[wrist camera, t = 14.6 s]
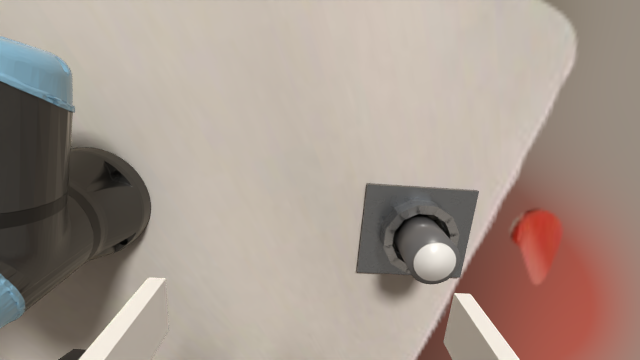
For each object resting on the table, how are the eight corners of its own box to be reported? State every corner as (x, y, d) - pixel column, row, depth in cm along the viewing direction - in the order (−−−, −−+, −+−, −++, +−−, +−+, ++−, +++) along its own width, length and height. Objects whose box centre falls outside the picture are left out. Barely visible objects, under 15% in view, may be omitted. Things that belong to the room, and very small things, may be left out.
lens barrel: (389, 251, 49) (404, 283, 41) (396, 211, 47) (413, 236, 39) (432, 254, 49) (455, 287, 41) (440, 214, 48) (466, 240, 40)
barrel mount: (356, 270, 51) (359, 281, 48) (366, 183, 47) (370, 189, 44) (458, 275, 51) (467, 287, 48) (477, 190, 47) (487, 197, 44)
